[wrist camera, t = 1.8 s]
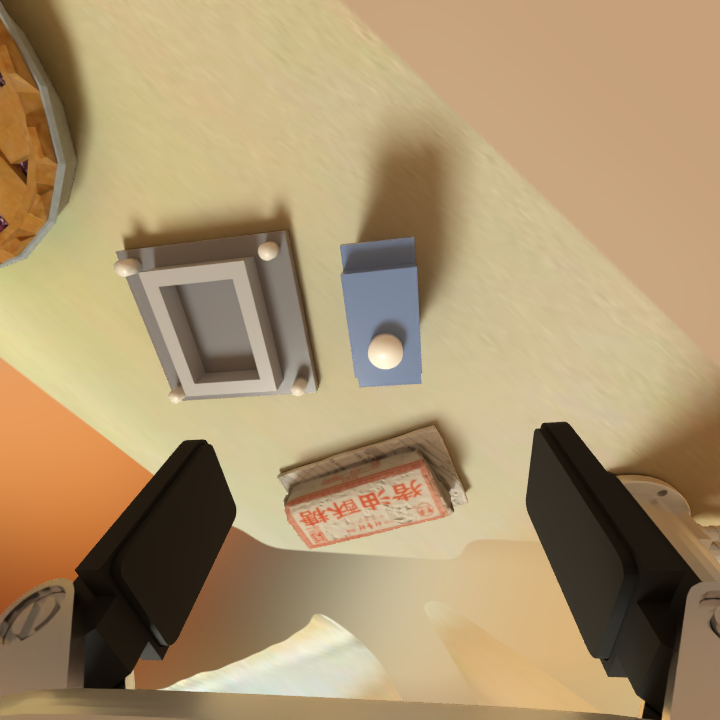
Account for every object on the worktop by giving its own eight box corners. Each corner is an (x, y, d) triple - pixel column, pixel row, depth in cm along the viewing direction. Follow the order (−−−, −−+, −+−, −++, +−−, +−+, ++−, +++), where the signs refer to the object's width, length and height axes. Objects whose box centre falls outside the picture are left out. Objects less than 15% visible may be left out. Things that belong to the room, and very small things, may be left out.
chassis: (288, 229, 26) (276, 233, 23) (318, 387, 32) (312, 404, 29) (124, 250, 28) (95, 255, 25) (181, 395, 34) (163, 412, 31)
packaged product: (312, 567, 37) (264, 504, 33) (321, 528, 41) (279, 469, 38) (476, 530, 32) (441, 453, 29) (466, 491, 37) (435, 419, 33)
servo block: (409, 229, 26) (416, 241, 18) (416, 350, 30) (423, 399, 23) (350, 236, 26) (334, 250, 19) (365, 354, 30) (356, 402, 23)
